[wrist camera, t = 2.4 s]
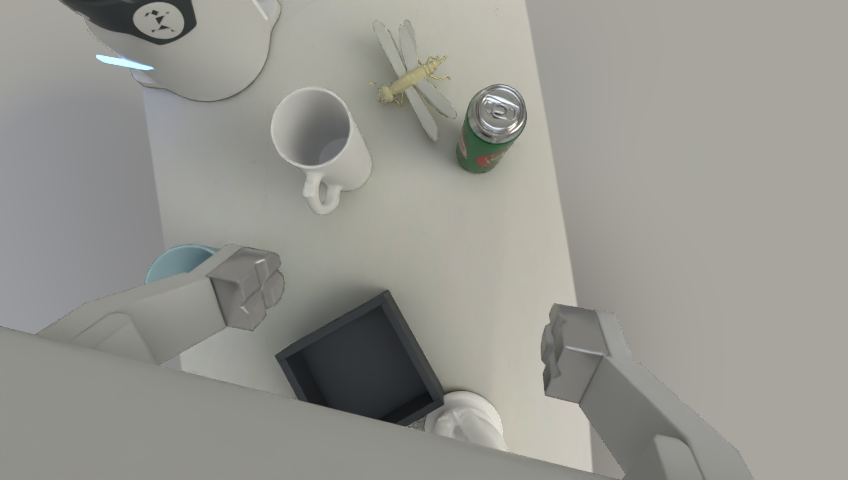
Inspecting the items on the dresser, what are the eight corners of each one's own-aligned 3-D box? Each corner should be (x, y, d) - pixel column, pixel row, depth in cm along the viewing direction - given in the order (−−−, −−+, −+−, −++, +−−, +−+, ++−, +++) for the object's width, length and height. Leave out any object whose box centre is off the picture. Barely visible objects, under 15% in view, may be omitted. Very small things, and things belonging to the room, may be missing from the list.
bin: (291, 343, 39) (274, 355, 35) (388, 289, 39) (383, 294, 35) (344, 442, 39) (334, 467, 34) (442, 387, 39) (444, 404, 34)
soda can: (461, 127, 40) (476, 72, 28) (504, 137, 40) (537, 87, 28) (451, 168, 40) (462, 132, 28) (493, 179, 40) (522, 147, 28)
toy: (475, 130, 40) (482, 112, 35) (407, 164, 40) (404, 152, 35) (419, 20, 41) (417, -12, 36) (351, 54, 41) (340, 26, 36)
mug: (321, 132, 40) (276, 81, 28) (378, 140, 40) (357, 91, 28) (308, 218, 40) (258, 202, 28) (366, 225, 40) (340, 213, 28)
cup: (227, 322, 39) (155, 346, 29) (209, 258, 40) (132, 259, 29) (291, 303, 39) (242, 320, 29) (272, 239, 40) (218, 233, 29)
